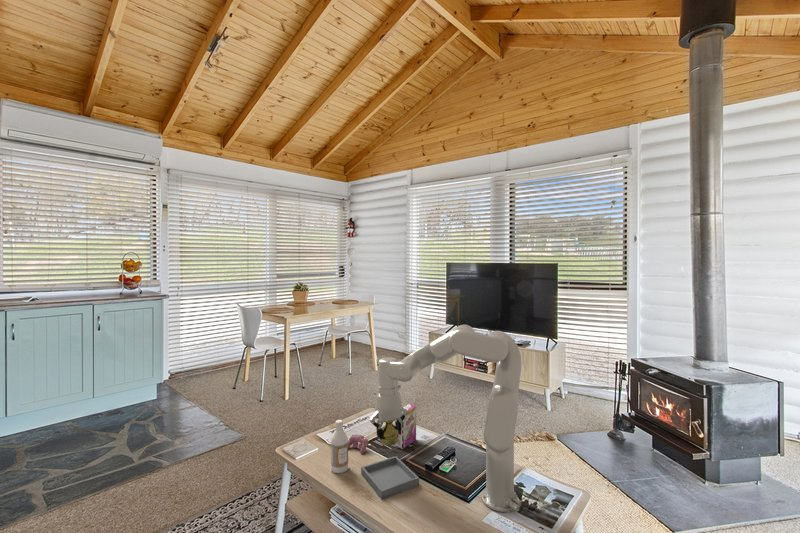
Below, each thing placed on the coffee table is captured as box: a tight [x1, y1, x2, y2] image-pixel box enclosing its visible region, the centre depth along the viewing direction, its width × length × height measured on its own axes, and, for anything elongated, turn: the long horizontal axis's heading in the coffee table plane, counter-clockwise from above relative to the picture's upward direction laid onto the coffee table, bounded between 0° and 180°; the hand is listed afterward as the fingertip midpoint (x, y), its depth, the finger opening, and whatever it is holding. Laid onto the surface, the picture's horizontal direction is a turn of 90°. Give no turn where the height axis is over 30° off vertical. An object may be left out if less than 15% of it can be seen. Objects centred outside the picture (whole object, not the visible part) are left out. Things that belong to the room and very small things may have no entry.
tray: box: [360, 455, 420, 500], centre depth 146 cm, size 18×16×3 cm
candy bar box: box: [394, 404, 417, 450], centre depth 174 cm, size 11×5×16 cm, turn 144°
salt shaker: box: [379, 419, 399, 446], centre depth 145 cm, size 7×7×10 cm
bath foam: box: [330, 419, 349, 474], centre depth 153 cm, size 7×7×20 cm
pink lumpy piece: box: [348, 434, 370, 455], centre depth 169 cm, size 10×5×7 cm, turn 58°
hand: (389, 434), depth 145 cm, fingers closed on salt shaker, 7 cm apart
